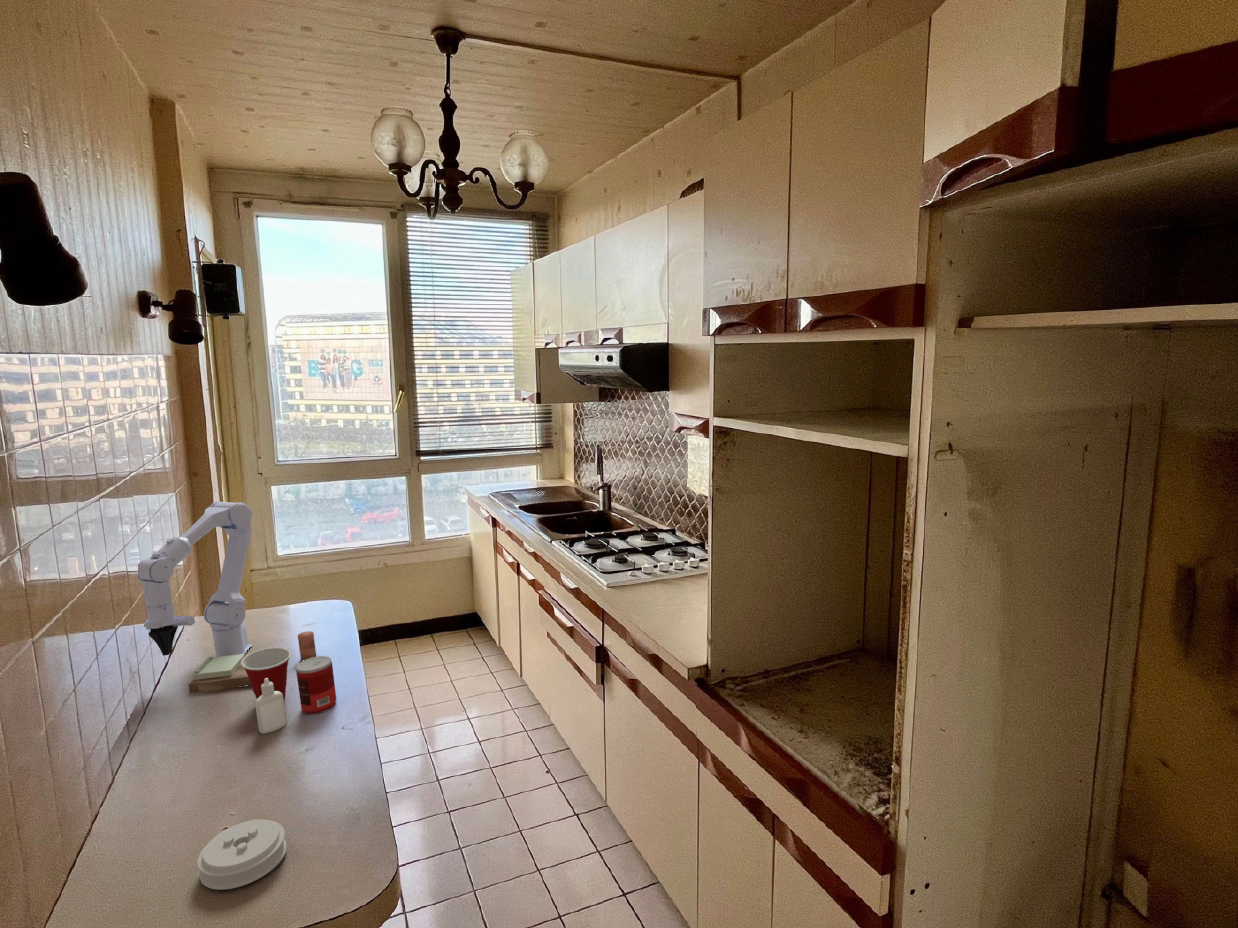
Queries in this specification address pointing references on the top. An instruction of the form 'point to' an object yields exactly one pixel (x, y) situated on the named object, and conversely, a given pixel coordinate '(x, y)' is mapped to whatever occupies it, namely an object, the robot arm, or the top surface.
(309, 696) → the canned food
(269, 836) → the lid
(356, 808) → the top surface
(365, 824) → the top surface
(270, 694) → the eye dropper bottle
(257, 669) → the plastic cup
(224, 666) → the cover
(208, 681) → the board
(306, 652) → the pin
